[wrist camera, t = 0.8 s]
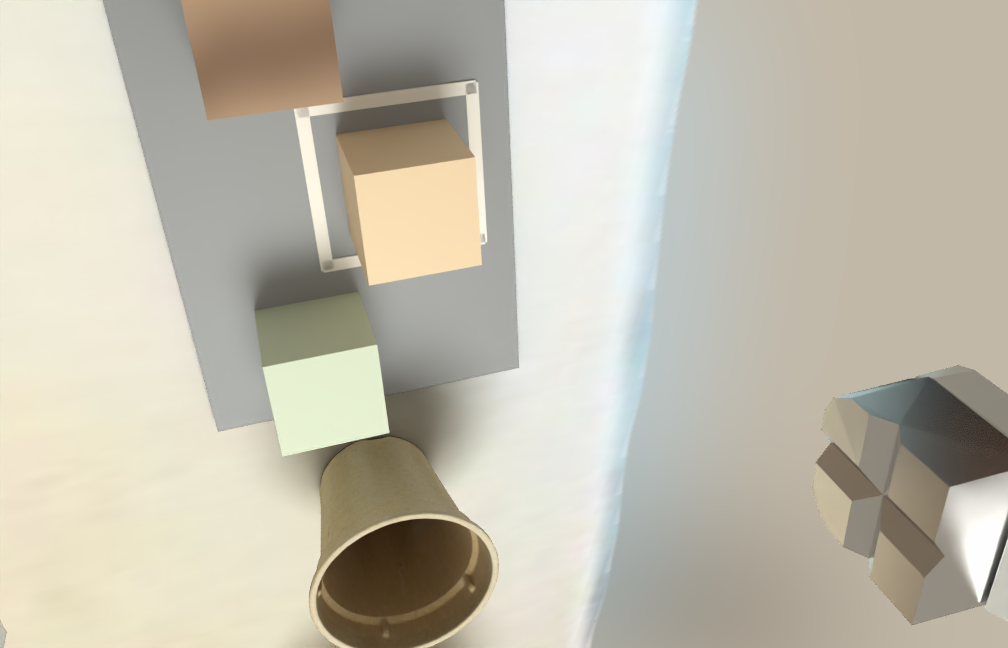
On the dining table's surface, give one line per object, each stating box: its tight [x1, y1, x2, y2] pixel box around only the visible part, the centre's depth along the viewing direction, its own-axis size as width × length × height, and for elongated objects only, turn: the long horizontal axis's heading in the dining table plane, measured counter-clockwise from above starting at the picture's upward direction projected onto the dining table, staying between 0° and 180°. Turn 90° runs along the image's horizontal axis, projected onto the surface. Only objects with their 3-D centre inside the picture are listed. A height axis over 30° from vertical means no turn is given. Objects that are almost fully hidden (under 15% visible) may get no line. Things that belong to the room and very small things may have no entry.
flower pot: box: [309, 436, 499, 648], centre depth 48 cm, size 9×9×9 cm
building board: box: [103, 0, 519, 432], centre depth 40 cm, size 24×16×6 cm, turn 2°
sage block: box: [254, 292, 389, 457], centre depth 43 cm, size 5×5×5 cm
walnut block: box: [181, 0, 343, 120], centre depth 35 cm, size 5×5×5 cm
